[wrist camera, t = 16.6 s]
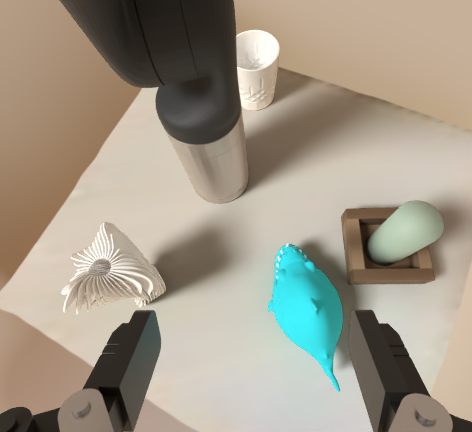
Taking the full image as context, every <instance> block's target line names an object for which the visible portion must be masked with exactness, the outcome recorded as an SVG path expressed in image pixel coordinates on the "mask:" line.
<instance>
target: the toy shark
mask: <svg viewBox="0 0 472 432" xmlns="http://www.w3.org/2000/svg"><path fill="white" fill-rule="evenodd" d="M270 310H272V311H273V312H274V313H275V317H276V320H277V322H278V324H279V326H280V327H281V329H282V330H283V332H284V333H285V334H286V336H287V337H288V338H289V339H290V340H291V341H292V342H294V343H295V344H296V345H298V346H299V347H301V348H302V349H304V350H305V351H307V352H308V353H309V354H310V355H312V356H313V357H314V358H315V359H316V360H317V361H318V362H319V363H320V365H321V366H322V368H323V370H324V371H325V373H326V374H327V376H328V377H329V378H330V379H331V381H332V383H333V385H334V387H335V388H336V390H337V391H338V392H339V391H340V388H339V385H338V382H337V380H336V378H335V376H334V374H333V358H334V352H335V348H336V345H337V342H338V339H339V336H340V334H341V330H342V325H343V312H342V305H341V301H340V298H339V295H338V293H337V290H336V289H335V287H334V286H333V285H332V284H331V282H330V281H329V279H328V278H327V276H326V275H325V274H324V273H323V272H322V271H321V270H320V269H317V268H316V267H315V265H314V263H313V262H311V261H310V260H309V259H308V257H307V256H306V254H305V253H304V252H303V251H302V250H301V249H300V248H298V247H297V246H295V245H292V244H287V245H284V246H282V247H281V249H280V250H279V252H278V253H277V256H276V261H275V279H274V288H273V299H272V300H271V301H270V302H269V305H268V311H270Z"/></svg>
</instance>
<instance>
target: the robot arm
mask: <svg viewBox="0 0 472 432" xmlns="http://www.w3.org/2000/svg"><path fill="white" fill-rule="evenodd" d="M60 1H61V3H62V4H63V5H64V7H65V8H66V9H67V11H68V12H69V13H70V14H71V16H72V17H73V19H74V20H75V21H76V22H77V24H78V25H79V27H80V28H81V29H82V30H83V32H84V33H85V34H86V36H87V37H88V38H89V40H90V41H91V42H92V44H93V45H94V46H95V48H96V49H97V50H98V52H99V53H100V54H101V55H102V57H103V58H104V59H105V61H106V62H107V63H108V64H109V65H110V67H111V68H112V69H113V70H114V71H115V72H116V73H117V74H118V75H119V76H120V77H121V78H122V79H123V80H124V81H126V82H127V83H129V84H130V85H132V86H135V87H140V88H153V87H159V88H158V91H157V94H156V110H157V113H158V116H159V119H160V121H161V123H162V125H163V127H164V129H165V131H166V133H167V135H168V137H169V139H170V141H171V142H172V144H173V146H174V148H175V150H176V152H177V154H178V156H179V158H180V160H181V162H182V164H183V166H184V168H185V170H186V172H187V174H188V176H189V179H190V181H191V183H192V185H193V187H194V189H195V191H196V192H197V193H198V195H199V196H200V197H202V198H203V199H204V200H206V201H208V202H212V203H227V202H230V201H232V200H234V199H236V198H238V197H239V196H240V195H241V194H242V193H243V192H244V190H245V189H246V187H247V184H248V180H249V171H248V161H247V152H246V143H245V134H244V125H243V117H242V108H241V99H240V92H239V84H238V73H237V48H236V23H235V9H234V2H233V0H60ZM348 347H349V353H350V357H351V360H352V363H353V367H354V370H355V373H356V376H357V379H358V383H359V386H360V389H361V392H362V396H363V399H364V402H365V405H366V409H367V412H368V415H369V418H370V422H371V425H372V428H373V431H374V432H472V422H470V421H467V420H464V419H461V418H458V417H455V416H453V415H451V414H449V413H448V411H447V410H446V409H445V408H444V406H443V405H441V404H440V403H439V402H438V401H436V400H435V399H433V398H431V396H430V395H429V393H428V391H427V389H426V387H425V385H424V383H423V381H422V379H421V377H420V375H419V373H418V371H417V369H416V367H415V365H414V363H413V361H412V359H411V358H410V357H409V354H408V352H407V350H406V348H405V347H404V344H403V342H402V340H401V338H400V336H399V334H398V333H397V332H396V331H395V330H394V329H393V328H392V327H391V326H390V325H389V324H379V323H378V320H377V318H376V316H375V314H374V312H373V311H372V310H352V312H351V318H350V326H349V335H348ZM160 349H161V336H160V331H159V326H158V322H157V317H156V313H155V311H154V310H137V311H135V312H134V314H133V316H132V318H131V320H130V322H129V323H122V324H121V325H120V326H119V327H118V328H117V329H116V330H115V331H114V332H113V333H112V335H111V337H110V338H109V340H108V342H107V346H105V348H104V350H103V352H102V355H100V357H99V359H98V361H97V363H96V365H95V367H94V369H93V371H92V372H91V375H90V376H89V378H88V380H87V382H86V384H85V386H84V387H83V389H82V390H80V391H78V392H76V393H74V394H73V395H71V396H70V397H69V398H68V399H67V400H66V401H65V402H64V403H63V405H62V406H61V407H60V408H57V409H55V410H51V411H48V412H44V413H40V414H37V415H32V414H31V412H30V410H29V409H27V408H25V407H16V408H12V409H9V410H7V411H5V412H3V413H2V414H0V432H123V431H126V432H127V431H128V432H133V431H134V428H135V425H136V422H137V419H138V416H139V413H140V410H141V407H142V404H143V401H144V398H145V395H146V392H147V389H148V386H149V383H150V380H151V377H152V374H153V371H154V368H155V365H156V362H157V359H158V356H159V353H160Z"/></svg>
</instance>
